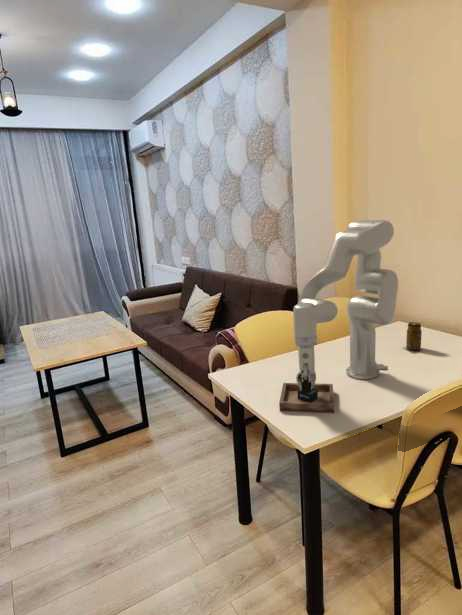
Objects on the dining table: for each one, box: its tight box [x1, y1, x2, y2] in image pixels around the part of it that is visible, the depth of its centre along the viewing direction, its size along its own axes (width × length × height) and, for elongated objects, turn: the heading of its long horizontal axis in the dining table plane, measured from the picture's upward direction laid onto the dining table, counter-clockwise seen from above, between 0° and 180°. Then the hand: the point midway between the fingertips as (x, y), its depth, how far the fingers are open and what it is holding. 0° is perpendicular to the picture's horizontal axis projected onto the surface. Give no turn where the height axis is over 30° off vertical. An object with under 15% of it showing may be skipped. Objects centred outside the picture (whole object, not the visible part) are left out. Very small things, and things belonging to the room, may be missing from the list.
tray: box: [278, 382, 335, 414], centre depth 144 cm, size 18×16×3 cm
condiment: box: [401, 321, 428, 354], centre depth 183 cm, size 7×8×12 cm
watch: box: [295, 371, 318, 402], centre depth 143 cm, size 6×8×11 cm
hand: (306, 386), depth 143 cm, fingers open, 9 cm apart
